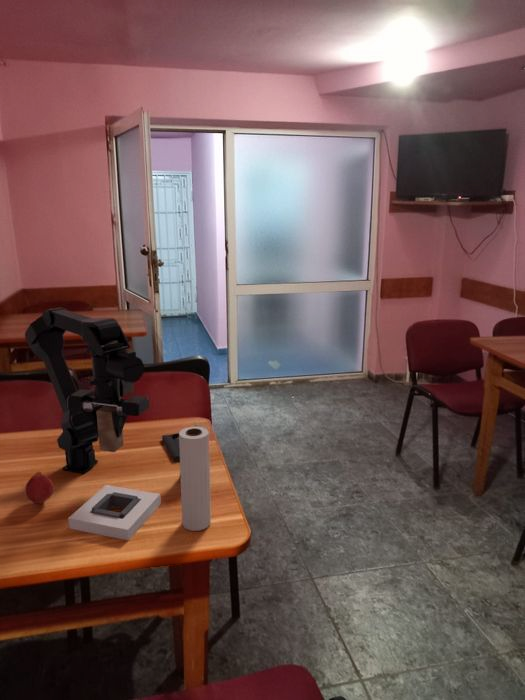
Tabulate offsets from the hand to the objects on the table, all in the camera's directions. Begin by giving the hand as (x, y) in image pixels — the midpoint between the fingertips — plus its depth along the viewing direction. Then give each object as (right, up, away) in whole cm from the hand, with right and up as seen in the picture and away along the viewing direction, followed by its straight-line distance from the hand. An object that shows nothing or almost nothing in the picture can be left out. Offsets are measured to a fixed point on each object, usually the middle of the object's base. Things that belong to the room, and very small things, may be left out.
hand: (110, 435), depth 123 cm
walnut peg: (0, -3, +1) cm, 3 cm away
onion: (-14, -15, -5) cm, 21 cm away
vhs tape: (+14, -8, +22) cm, 27 cm away
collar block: (+4, -16, -10) cm, 19 cm away
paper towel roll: (+22, -17, -12) cm, 30 cm away
